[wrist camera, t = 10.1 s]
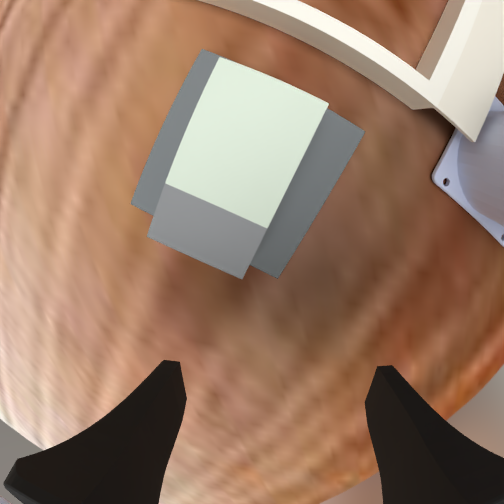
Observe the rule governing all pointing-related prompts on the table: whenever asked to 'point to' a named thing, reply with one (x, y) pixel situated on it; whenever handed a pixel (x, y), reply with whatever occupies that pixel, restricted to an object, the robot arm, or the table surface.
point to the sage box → (234, 166)
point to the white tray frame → (396, 70)
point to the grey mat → (298, 192)
